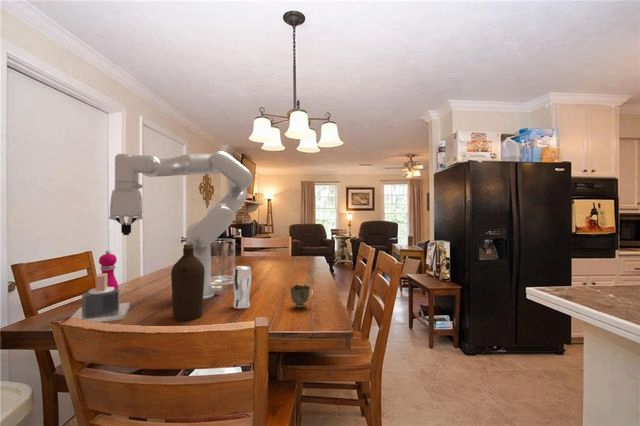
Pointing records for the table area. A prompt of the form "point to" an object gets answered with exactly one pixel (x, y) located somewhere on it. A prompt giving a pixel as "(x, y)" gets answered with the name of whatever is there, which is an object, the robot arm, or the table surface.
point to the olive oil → (187, 286)
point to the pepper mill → (109, 268)
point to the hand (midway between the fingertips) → (126, 234)
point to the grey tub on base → (102, 307)
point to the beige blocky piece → (101, 285)
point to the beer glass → (241, 286)
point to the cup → (299, 295)
